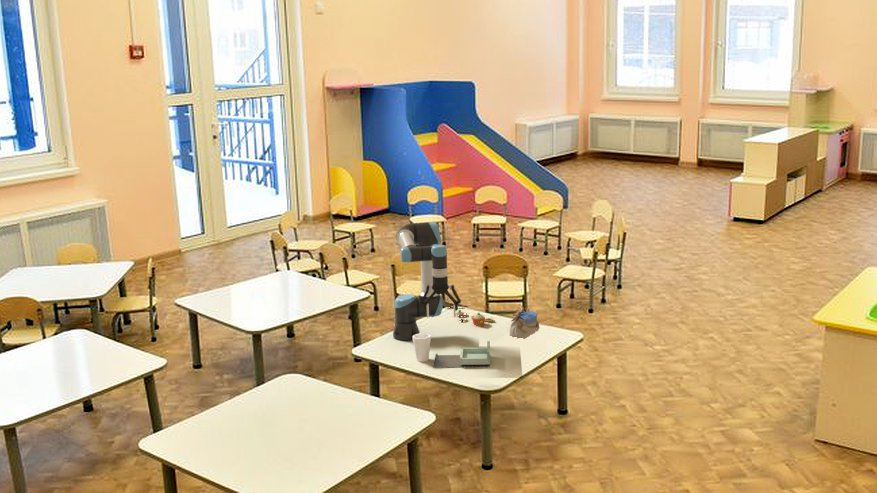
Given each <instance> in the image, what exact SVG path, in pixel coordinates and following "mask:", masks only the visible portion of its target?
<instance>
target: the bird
mask: <svg viewBox="0 0 877 493" xmlns="http://www.w3.org/2000/svg"><path fill="white" fill-rule="evenodd" d="M442 302H443V305H442V307H444V308H445V307H446V308H452V307H454V306H453V305H454V303H453V302H448V301H445V300H444V299H443V300H442ZM458 307H462V308H467V309H468V308H470V307H469V306H468V305H464V304H461V303H459V304H458Z"/></svg>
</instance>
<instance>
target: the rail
mask: <svg viewBox="0 0 877 493" xmlns="http://www.w3.org/2000/svg"><path fill="white" fill-rule="evenodd" d="M434 356H435V357H434V360H433V364H432V365H433V368H434V369H435V368H438V369H440V368H442V369H443V368H444V369H445V368H446V369H447V368H450V369H451V368H491V363H490V364H488V365H486V364H479V365H460V354H438V353H435V355H434Z"/></svg>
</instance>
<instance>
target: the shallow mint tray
mask: <svg viewBox="0 0 877 493" xmlns="http://www.w3.org/2000/svg"><path fill="white" fill-rule="evenodd" d="M490 343H491V342H490V340H489V341H487V343H486V344H487V346H486V347H461V348H460V354H459V355H460V365H479V364H486V365H488V364H490V365H491V348H490V346H491V345H490Z"/></svg>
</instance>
